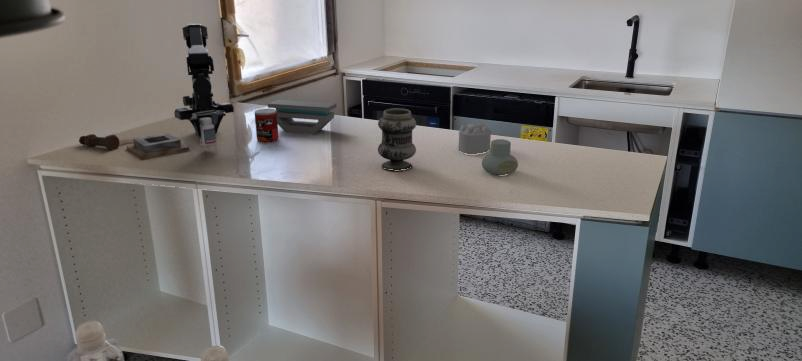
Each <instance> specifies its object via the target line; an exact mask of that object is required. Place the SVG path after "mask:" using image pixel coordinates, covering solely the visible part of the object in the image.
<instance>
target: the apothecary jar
mask: <svg viewBox="0 0 802 361" xmlns="http://www.w3.org/2000/svg"><path fill="white" fill-rule="evenodd" d="M377 126H378V129H380V130H381V142H380V144H379V145H378V147H377V152H378V155H380V156H381V157H382V158H383V159H386V160H387V161H385V162H383V163H382V164H381V166H382V167H383V168H386V169H393V170H401V169H407V168H410V167H412V166H413V164H412V163H410V162H409V161H407V160H408V159H409V160H410V159H411V158H412V157H414V155H415V154H416V153H417V147H416V145H415V144H414V143H413V131H414V129H415V128H416V126H417V121H416V119H415V118H414V117H412V112H411V110H409V109H407V108H397V107H394V108H388V109H387V108H386V109H385V110H383V115H382V116H381V117H380V119H379V120H378V121H377ZM382 167H381V168H382ZM383 168H382V169H383ZM412 168H413V167H412Z"/></svg>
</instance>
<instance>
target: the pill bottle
mask: <svg viewBox="0 0 802 361" xmlns="http://www.w3.org/2000/svg"><path fill="white" fill-rule="evenodd" d="M199 121H200V124H201V125H200V131H201V137H199V143H200V145H201V146H205V147H206V146H207V147H208V146H214V145H216V144H217V137H216V135H217V134H215V127H214V125H213V124H211V123H212V119H211V118H208V117H207V118H200V119H199Z"/></svg>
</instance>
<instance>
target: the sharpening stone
mask: <svg viewBox="0 0 802 361" xmlns="http://www.w3.org/2000/svg"><path fill="white" fill-rule="evenodd" d="M336 108H337V103H336V102H335V103H334V102H323V101H321V102H320V101H306V100H304V101H303V100H291V99H289V100H288V99H276V100H273V101H271V102H268V103H267V109H275V110H276V111H277V122H278V127H279V128H280V129H282V131H284V133H289V134H299V135H310V134H312V135H311V136H313V135H315V134H316V133H318V132H320V131H322V130H323V129H324V128H325V127H326V126H327V125H328V124H329V123H330V122H331V121H332V120H333V119H334V118H335V111H332V110H334V109H336ZM295 119H299V120H295ZM300 119H303V120H304V121H303V120H301V121H300ZM305 120H312V121H305ZM313 120H314V121H315V122H314V121H313ZM316 120H317V122H316Z"/></svg>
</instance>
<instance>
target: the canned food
mask: <svg viewBox="0 0 802 361" xmlns="http://www.w3.org/2000/svg"><path fill="white" fill-rule="evenodd" d="M254 122H255V132H256V133H255V135H256V141H257V142H258V143H261V142H262V144H268V143H267V142H271V143H275V142H278V140H279V125H278V122H277V111H276V108H261V109H257V110H256V109H255V111H254ZM274 141H275V142H274ZM263 142H264V143H263ZM265 142H266V143H265Z"/></svg>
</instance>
